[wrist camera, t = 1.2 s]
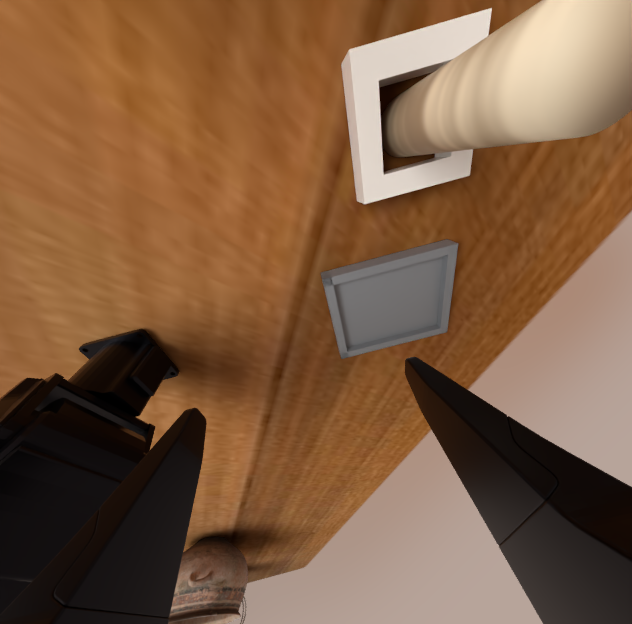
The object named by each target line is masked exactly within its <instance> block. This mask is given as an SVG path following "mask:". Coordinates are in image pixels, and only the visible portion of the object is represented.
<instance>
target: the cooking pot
mask: <svg viewBox="0 0 632 624" xmlns="http://www.w3.org/2000/svg"><path fill="white" fill-rule="evenodd" d="M247 580H248V568H247V563H246V560H245V557H244V555H243V554H242V553H241V552H240V551H239V550H238V549H237V548H236V547H235V546H234V545H232V544H231V543H230V542H228V541H227V539H225V538H222V537H210V538H205V539H202V540H200V541H199V542H198V543H196V544H195V545H194V546H192V547H191V548H189V549H188V550H186V551H185V552H184V553H183V555H182V560H181V565H180V569H179V574H178V579H177V584H176V588H175V593H174V598H173V603H172V607H171V612H170V616H169V623H168V624H226V623H229V622H232V621H235V620H237V619H239V618H240V617H241V615H240V613H239V612H238V611H239V607H240V604H241V602H242V599H243V596H244V592H245V589H246V585H247Z"/></svg>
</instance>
